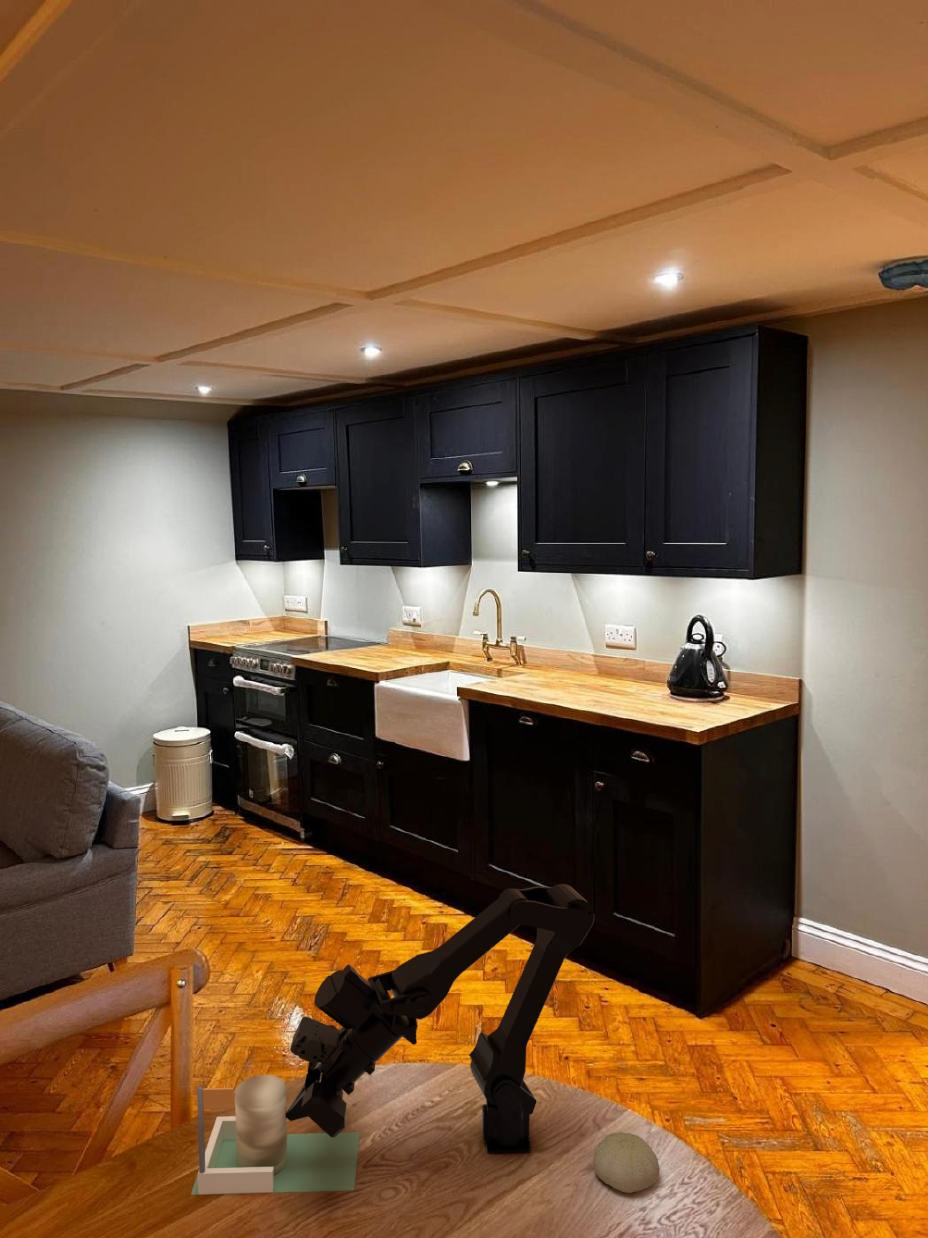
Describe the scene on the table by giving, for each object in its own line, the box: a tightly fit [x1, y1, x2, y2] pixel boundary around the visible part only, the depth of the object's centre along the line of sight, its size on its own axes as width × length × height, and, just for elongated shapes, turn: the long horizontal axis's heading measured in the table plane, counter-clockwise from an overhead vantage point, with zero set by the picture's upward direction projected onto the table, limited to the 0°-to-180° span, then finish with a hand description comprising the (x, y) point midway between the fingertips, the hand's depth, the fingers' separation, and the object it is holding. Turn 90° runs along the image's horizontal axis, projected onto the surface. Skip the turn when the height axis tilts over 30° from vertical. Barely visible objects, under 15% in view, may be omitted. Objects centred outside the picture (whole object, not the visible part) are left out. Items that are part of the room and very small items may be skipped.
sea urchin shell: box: [593, 1131, 660, 1194], centre depth 131 cm, size 9×8×8 cm
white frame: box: [196, 1085, 274, 1195], centre depth 130 cm, size 10×12×15 cm
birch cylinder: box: [234, 1074, 288, 1176], centre depth 131 cm, size 7×7×11 cm
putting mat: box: [190, 1131, 361, 1196], centre depth 132 cm, size 22×12×1 cm, turn 93°
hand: (288, 1117), depth 131 cm, fingers closed
